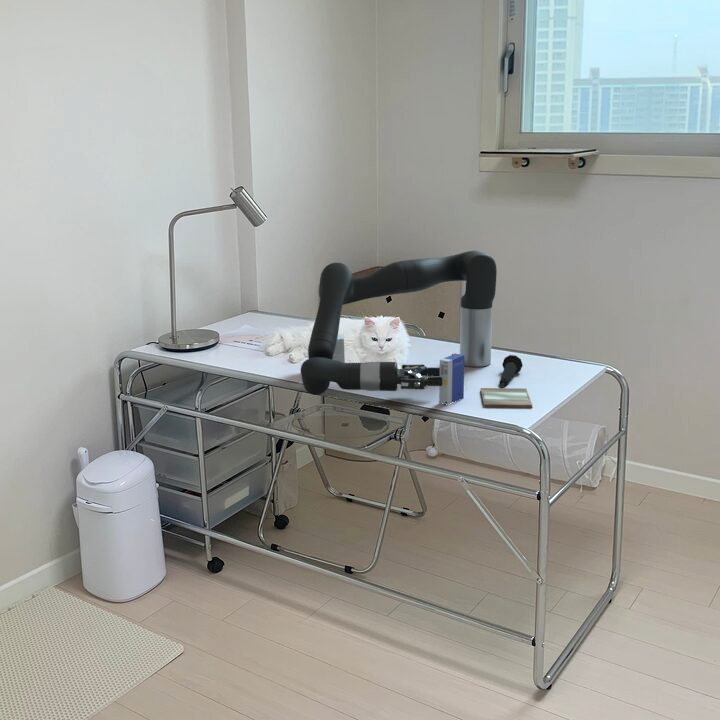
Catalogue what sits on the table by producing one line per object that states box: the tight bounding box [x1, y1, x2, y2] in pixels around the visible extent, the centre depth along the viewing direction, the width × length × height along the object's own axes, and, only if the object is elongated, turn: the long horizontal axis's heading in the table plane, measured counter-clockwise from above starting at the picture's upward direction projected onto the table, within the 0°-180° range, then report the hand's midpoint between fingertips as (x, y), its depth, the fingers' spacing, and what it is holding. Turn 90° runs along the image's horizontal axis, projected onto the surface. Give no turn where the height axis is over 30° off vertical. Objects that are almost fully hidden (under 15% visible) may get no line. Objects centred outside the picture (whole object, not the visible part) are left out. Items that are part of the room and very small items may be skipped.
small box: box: [333, 334, 346, 363], centre depth 250 cm, size 8×6×10 cm
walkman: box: [438, 352, 465, 406], centre depth 222 cm, size 8×3×12 cm, turn 142°
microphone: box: [499, 354, 524, 388], centre depth 241 cm, size 6×6×20 cm
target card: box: [480, 387, 533, 409], centre depth 224 cm, size 14×12×1 cm
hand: (442, 376), depth 221 cm, fingers open, 8 cm apart
